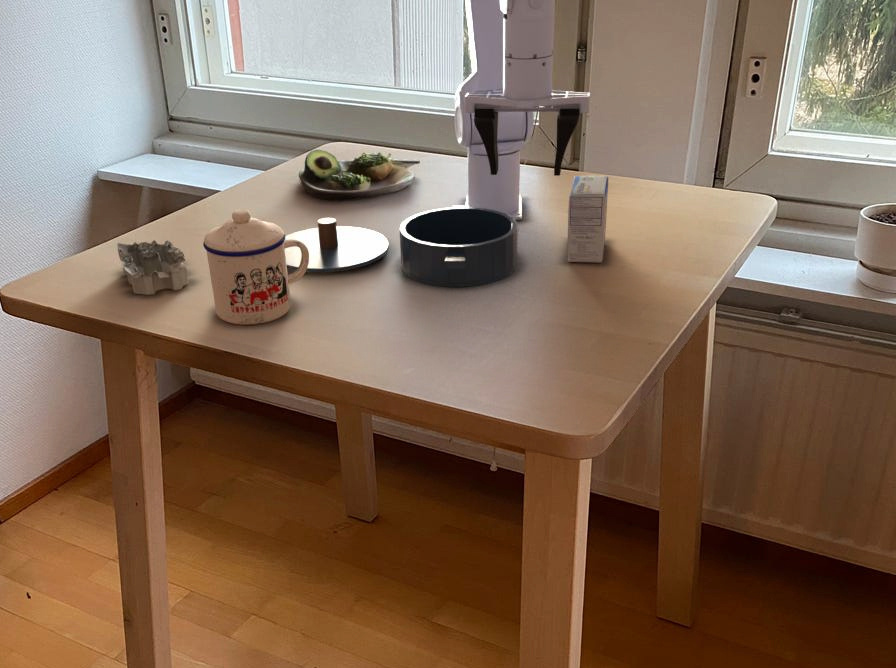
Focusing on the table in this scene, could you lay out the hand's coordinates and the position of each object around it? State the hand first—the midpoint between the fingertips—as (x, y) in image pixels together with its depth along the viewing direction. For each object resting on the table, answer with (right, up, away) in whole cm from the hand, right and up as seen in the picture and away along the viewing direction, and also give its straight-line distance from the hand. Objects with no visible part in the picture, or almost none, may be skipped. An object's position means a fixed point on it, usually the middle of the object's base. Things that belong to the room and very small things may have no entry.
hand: (525, 173), depth 123 cm
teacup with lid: (-31, -18, -6) cm, 36 cm away
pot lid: (-25, -8, +8) cm, 27 cm away
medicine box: (+8, -9, +5) cm, 13 cm away
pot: (-8, -11, +3) cm, 14 cm away
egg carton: (-46, -13, +3) cm, 48 cm away
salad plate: (-23, +8, +33) cm, 41 cm away
